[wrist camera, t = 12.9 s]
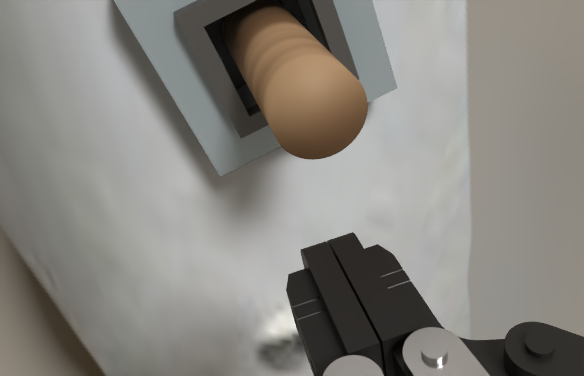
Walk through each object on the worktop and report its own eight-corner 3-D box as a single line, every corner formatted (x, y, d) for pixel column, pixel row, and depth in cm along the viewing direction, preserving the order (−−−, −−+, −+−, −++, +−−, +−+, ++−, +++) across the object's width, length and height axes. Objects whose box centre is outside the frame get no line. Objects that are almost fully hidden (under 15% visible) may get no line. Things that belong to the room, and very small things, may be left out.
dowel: (210, 13, 29) (255, 96, 19) (274, -19, 29) (351, 48, 19) (240, 74, 32) (293, 174, 22) (299, 45, 32) (378, 132, 22)
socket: (108, -24, 27) (106, -6, 24) (316, -128, 27) (342, -125, 24) (213, 153, 34) (222, 185, 31) (377, 70, 34) (404, 94, 31)
